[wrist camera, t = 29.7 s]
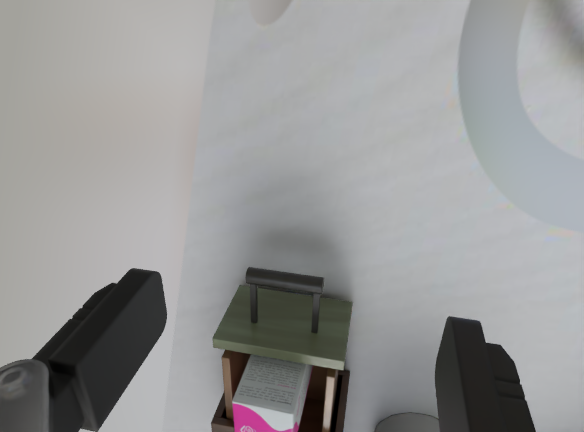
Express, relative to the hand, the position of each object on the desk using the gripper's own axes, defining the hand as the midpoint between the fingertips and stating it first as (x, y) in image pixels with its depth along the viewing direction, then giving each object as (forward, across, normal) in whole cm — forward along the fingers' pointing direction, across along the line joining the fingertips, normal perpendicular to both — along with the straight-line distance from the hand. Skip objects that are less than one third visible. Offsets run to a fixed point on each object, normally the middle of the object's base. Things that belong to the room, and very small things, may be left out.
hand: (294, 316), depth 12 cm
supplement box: (+26, +5, +27) cm, 38 cm away
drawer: (+27, +5, +26) cm, 38 cm away
